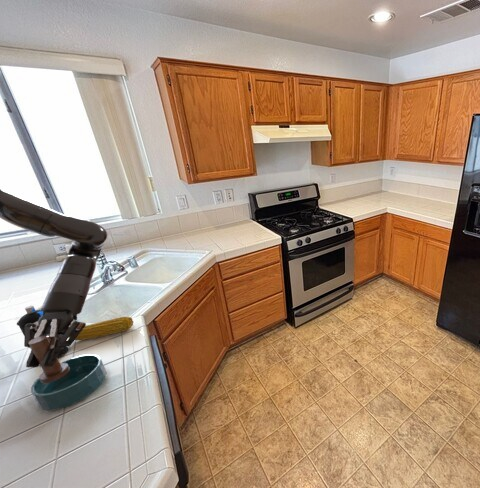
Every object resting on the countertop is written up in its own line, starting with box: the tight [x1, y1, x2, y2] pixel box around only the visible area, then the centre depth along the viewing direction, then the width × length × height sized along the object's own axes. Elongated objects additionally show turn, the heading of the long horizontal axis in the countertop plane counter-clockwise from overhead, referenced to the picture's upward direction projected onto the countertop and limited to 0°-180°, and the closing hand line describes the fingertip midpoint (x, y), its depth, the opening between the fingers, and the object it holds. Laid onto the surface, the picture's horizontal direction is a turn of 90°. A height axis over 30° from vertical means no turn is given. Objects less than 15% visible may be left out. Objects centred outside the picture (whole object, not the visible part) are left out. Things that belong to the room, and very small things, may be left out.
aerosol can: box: [16, 305, 69, 359], centre depth 90 cm, size 8×8×20 cm
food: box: [68, 316, 134, 341], centre depth 102 cm, size 21×6×6 cm, turn 109°
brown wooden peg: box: [29, 335, 70, 383], centre depth 63 cm, size 5×5×11 cm
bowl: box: [30, 353, 108, 411], centre depth 78 cm, size 15×15×6 cm
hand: (39, 366), depth 61 cm, fingers closed on brown wooden peg, 3 cm apart
